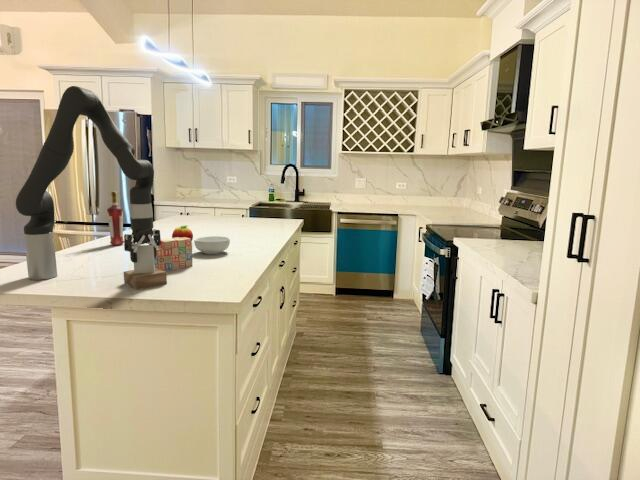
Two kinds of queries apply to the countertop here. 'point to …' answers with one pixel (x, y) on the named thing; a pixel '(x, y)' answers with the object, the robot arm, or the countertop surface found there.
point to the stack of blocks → (174, 253)
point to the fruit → (182, 232)
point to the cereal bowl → (212, 244)
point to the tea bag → (144, 260)
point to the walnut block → (145, 279)
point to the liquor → (115, 221)
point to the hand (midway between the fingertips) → (144, 259)
